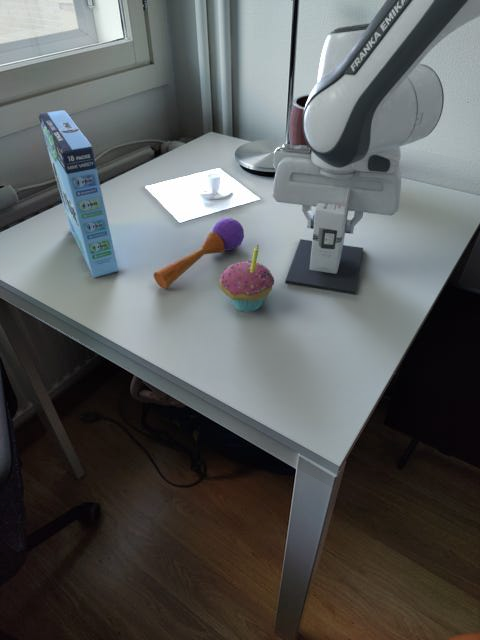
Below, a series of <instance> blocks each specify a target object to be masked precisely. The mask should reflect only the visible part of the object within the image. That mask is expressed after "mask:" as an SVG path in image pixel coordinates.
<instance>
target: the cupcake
mask: <svg viewBox="0 0 480 640" xmlns="http://www.w3.org/2000/svg"><path fill="white" fill-rule="evenodd" d="M259 250H260V249H259V244H256V247H254V249H253V253H252V259H251V261H250V260H248V261H247V260H245V261H238V262H234V263H233V264H231V265H228V266H227V267H226V268H224V269H223V271H222V273H221V274H220V279H219V288H220V290H221V291H222V293H224V294H225V295H226V297H228V298H230V300H231V303H232V305H233V306H234V308H235V309H236V310H239V311H241V312H245V313H246V312H247V313H249V312H254V311H257V310H258V309H260V307H262V304H263V302H264V299H265V298H266V297H268V296H269V295H270V292H271V291H273V286H274V285H275V278H274V276H273V274H272V273H271V270H270V269H269V268H268V267H266V266H265V265H264V264H262V263H259V262H258V261H257V260H258V255H259Z"/></svg>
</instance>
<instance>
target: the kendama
mask: <svg viewBox="0 0 480 640" xmlns="http://www.w3.org/2000/svg"><path fill="white" fill-rule="evenodd" d="M244 230H245V229H244V228H243V225H242V224H241V222H239V221H238V220H236V219H234V218H231V217H227V218H221V219H219V221H217V222H216V223H215V224H214V226H213V228H212V231H210V232H209V233H208V234H207V236H206V239H205V241H204V242H203V244H202V246H201V248H200V249H198V250H195V252H192V253H190V254H188V255H186V256H185V257H182V258H181V259H179V260H177V261H174V262H173V263H171V264H168V265H166V266H165V267H163V268H160V269H158V270H157V271H154V272H153V278H154V281H155V282H156V284H157V286H159V287H160V288H161V289H163V290H166V289H167V288H169V287H170V286H171V285H172V284H174V282H175V281H176V280H177V279H178V278H180V277H181V276H182V275H184V273H185V272H186V271H187V270H188V269H190V268H191V267H192V266H193V265H194V264H195V263H197V261H199V260H200V259H201V258H202V257H203V256H204V255H209V254H211V255H212V254H220V253H221V254H222V253H223V252H224V251H233V250H235V249H237V248H238V247H239V246H241V245H242V243H243V241H244V238H245V231H244Z"/></svg>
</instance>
